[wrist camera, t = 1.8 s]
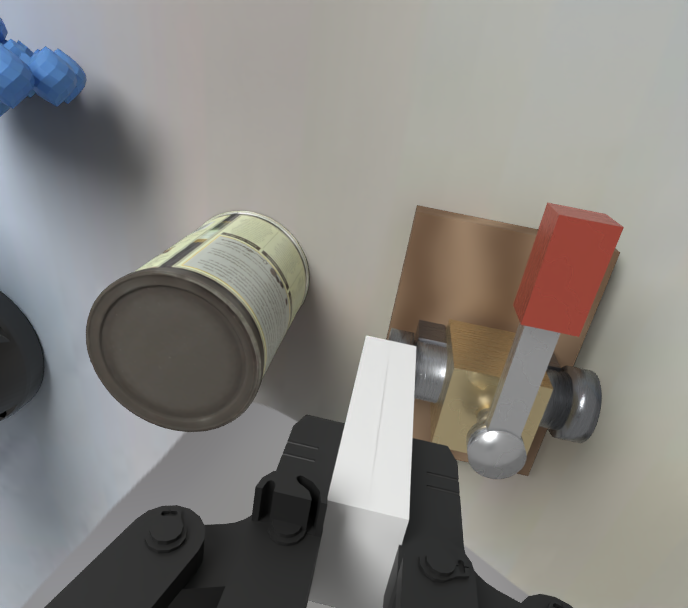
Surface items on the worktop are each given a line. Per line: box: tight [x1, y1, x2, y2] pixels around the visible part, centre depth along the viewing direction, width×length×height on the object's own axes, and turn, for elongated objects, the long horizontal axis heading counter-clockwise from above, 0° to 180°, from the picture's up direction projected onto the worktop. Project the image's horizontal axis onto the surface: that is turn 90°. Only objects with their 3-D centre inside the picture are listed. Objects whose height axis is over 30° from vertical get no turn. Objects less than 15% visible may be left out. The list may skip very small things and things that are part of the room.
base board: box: [386, 205, 620, 476], centre depth 41 cm, size 14×20×2 cm
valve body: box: [388, 319, 602, 454], centre depth 35 cm, size 14×6×10 cm, turn 80°
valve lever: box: [466, 203, 624, 479], centre depth 27 cm, size 16×3×2 cm, turn 170°
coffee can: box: [86, 211, 309, 432], centre depth 36 cm, size 10×10×14 cm
